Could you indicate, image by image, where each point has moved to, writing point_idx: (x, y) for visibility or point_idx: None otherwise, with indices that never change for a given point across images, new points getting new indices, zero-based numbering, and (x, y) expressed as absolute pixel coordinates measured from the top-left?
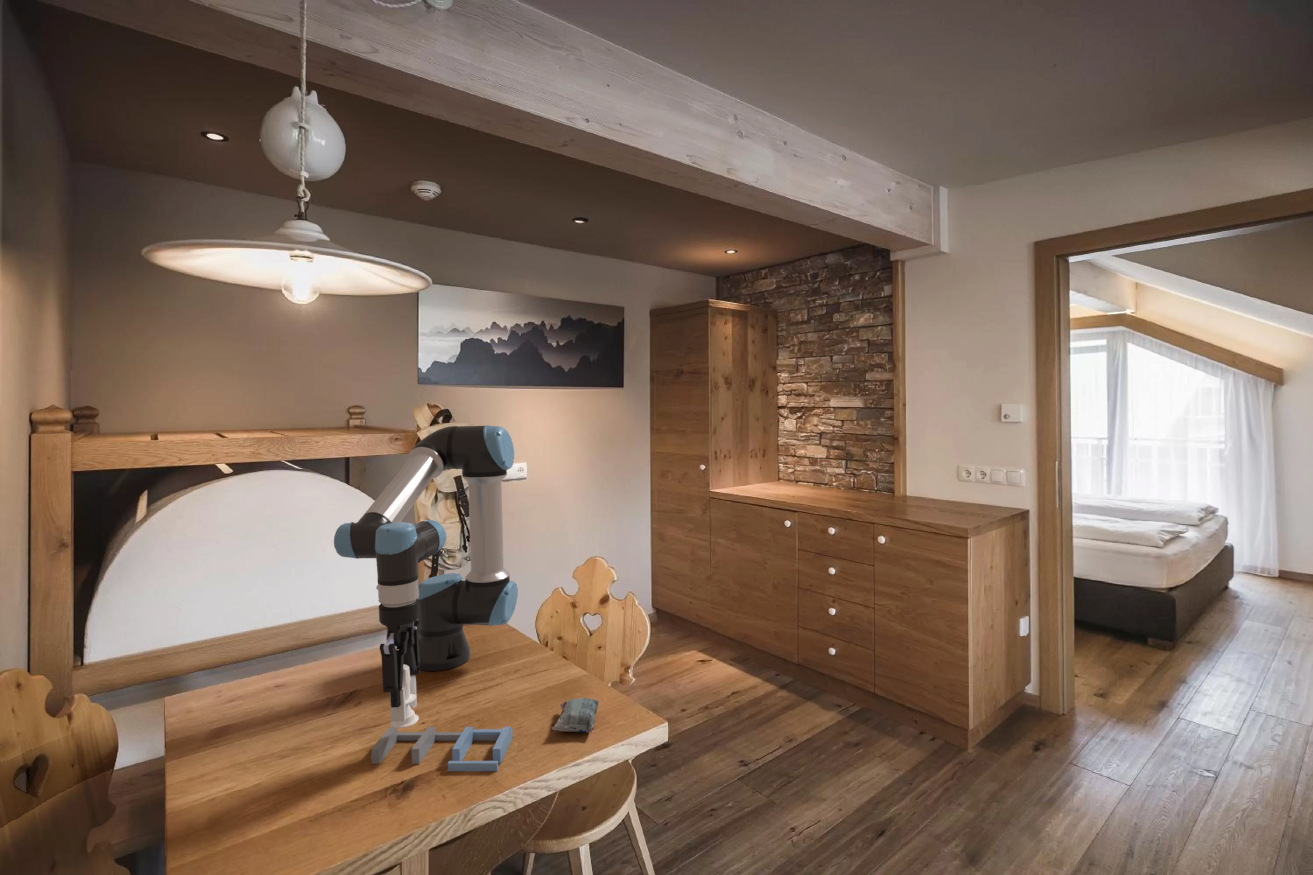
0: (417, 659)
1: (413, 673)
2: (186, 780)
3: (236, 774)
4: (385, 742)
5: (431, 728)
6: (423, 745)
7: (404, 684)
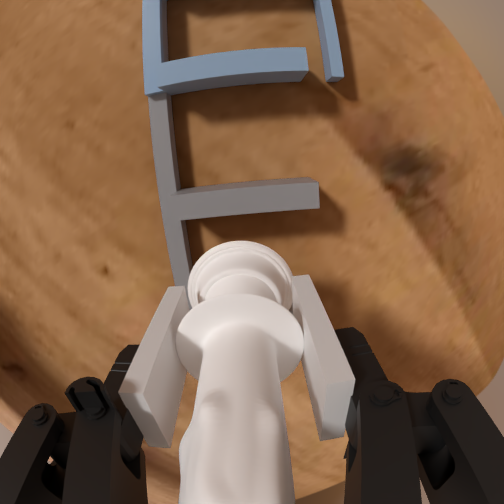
0: (37, 454)
1: (118, 411)
2: (337, 479)
3: (331, 458)
4: None
5: (182, 202)
6: (278, 183)
7: (276, 406)
